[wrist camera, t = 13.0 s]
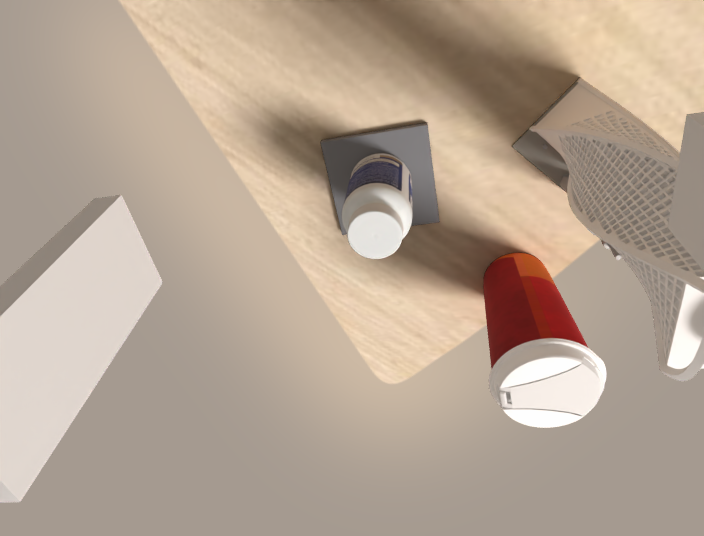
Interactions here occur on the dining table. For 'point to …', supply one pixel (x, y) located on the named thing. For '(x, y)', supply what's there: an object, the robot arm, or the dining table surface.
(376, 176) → the pill bottle
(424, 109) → the dining table surface
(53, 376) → the robot arm
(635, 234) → the skyscraper
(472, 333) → the dining table surface
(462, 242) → the dining table surface
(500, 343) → the coffee cup
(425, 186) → the coaster
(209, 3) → the dining table surface
